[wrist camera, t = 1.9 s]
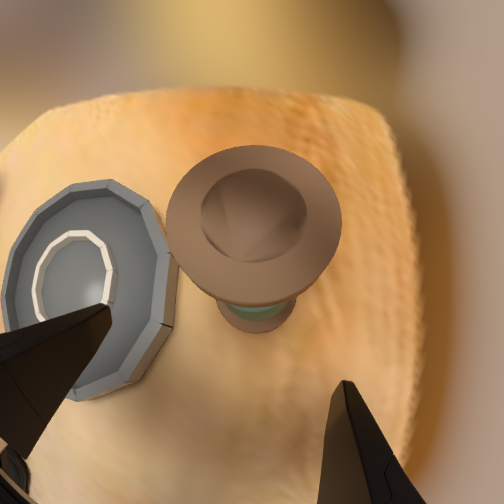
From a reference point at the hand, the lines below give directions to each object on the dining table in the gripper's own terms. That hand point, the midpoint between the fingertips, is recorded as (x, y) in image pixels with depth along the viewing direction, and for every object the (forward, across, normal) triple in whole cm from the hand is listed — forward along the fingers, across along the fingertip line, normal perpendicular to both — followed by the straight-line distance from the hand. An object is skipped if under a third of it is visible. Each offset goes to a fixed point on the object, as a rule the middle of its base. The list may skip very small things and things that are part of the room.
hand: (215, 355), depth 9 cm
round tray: (+8, +16, +8) cm, 19 cm away
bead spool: (+11, 0, +5) cm, 12 cm away
